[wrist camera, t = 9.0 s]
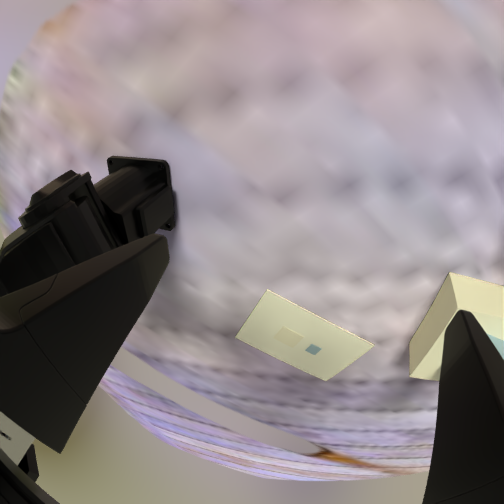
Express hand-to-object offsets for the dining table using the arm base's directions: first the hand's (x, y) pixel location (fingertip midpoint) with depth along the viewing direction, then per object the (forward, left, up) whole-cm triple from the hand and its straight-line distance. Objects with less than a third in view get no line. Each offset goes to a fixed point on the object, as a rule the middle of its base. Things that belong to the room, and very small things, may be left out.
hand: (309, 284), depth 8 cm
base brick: (+15, -12, -13) cm, 23 cm away
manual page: (0, -20, -13) cm, 24 cm away
